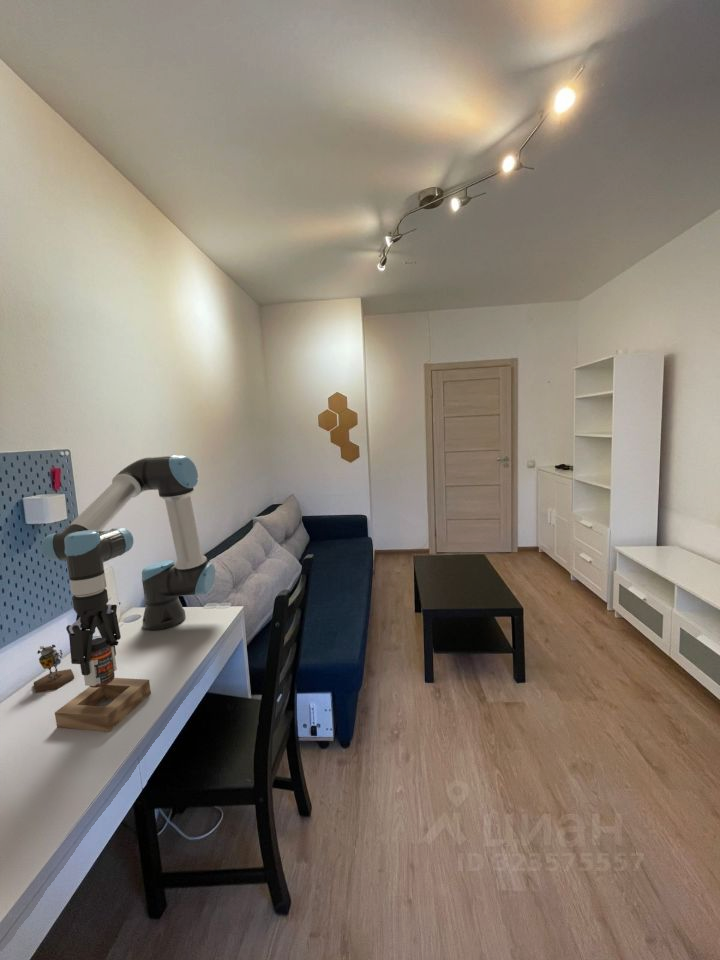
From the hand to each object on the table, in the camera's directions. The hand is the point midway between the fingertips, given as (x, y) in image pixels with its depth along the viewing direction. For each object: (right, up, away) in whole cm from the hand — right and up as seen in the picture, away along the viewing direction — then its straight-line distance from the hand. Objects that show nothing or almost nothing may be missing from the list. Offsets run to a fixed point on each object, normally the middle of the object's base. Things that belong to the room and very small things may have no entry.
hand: (101, 677), depth 108 cm
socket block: (+1, -9, +1) cm, 9 cm away
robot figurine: (-24, -9, +16) cm, 30 cm away
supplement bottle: (0, -2, 0) cm, 2 cm away
